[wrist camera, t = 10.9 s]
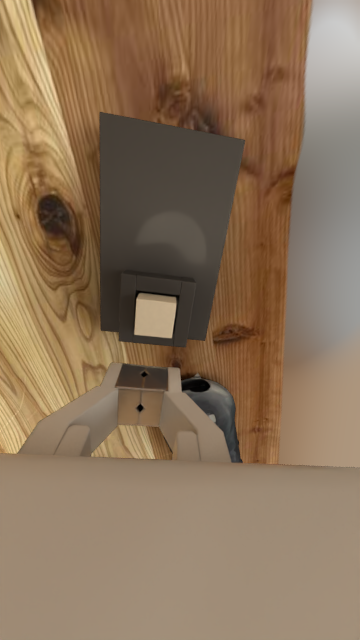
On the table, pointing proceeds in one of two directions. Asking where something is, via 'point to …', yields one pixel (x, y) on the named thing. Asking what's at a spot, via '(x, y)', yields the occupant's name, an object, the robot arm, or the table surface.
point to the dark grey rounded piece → (215, 409)
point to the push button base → (162, 221)
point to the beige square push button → (155, 315)
